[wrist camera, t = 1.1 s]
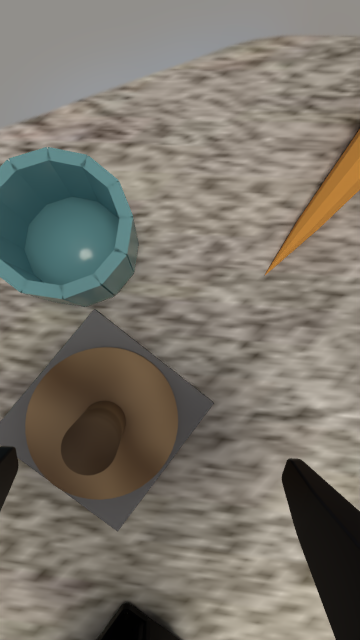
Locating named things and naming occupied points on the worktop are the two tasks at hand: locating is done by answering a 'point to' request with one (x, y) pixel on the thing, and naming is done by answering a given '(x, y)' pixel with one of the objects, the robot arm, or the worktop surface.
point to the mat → (107, 334)
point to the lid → (101, 423)
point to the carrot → (326, 199)
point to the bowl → (64, 228)
